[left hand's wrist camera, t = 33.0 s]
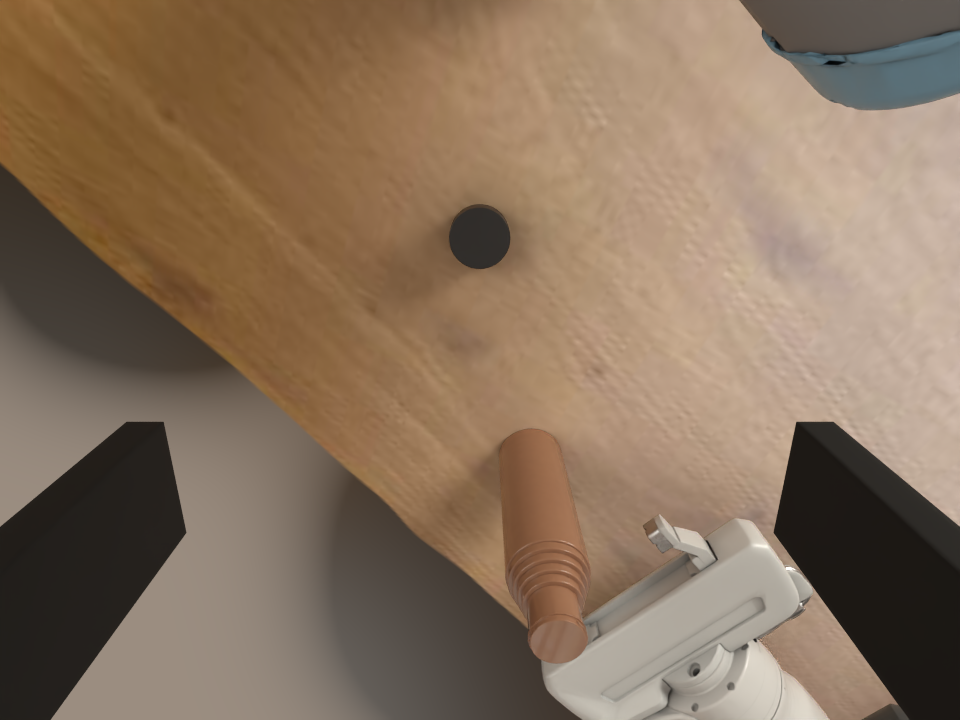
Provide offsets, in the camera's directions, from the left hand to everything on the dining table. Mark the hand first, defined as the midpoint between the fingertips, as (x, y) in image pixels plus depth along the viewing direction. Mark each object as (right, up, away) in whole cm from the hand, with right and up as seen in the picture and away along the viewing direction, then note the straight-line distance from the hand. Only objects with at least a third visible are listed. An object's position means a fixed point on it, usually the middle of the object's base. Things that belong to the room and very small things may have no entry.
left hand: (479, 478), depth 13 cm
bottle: (+4, -5, +36) cm, 37 cm away
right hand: (+9, -12, +32) cm, 35 cm away
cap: (0, +11, +28) cm, 30 cm away
